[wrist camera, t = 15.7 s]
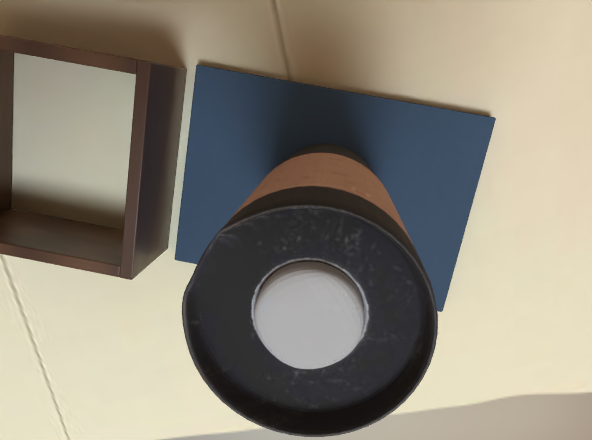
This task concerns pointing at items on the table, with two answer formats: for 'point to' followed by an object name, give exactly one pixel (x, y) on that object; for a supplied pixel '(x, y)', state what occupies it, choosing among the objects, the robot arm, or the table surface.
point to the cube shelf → (141, 176)
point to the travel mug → (312, 301)
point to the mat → (335, 130)
